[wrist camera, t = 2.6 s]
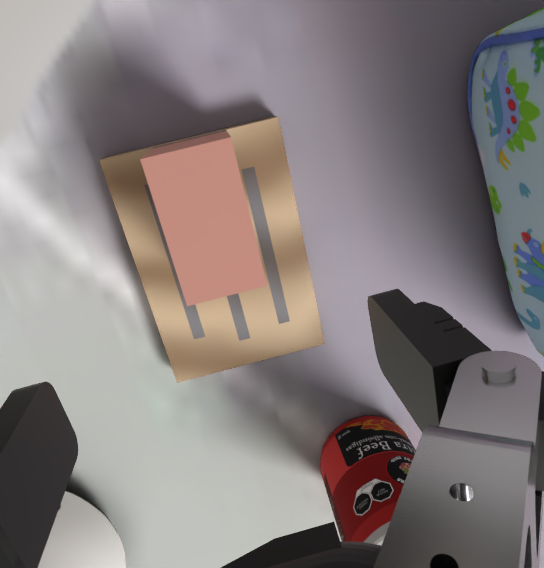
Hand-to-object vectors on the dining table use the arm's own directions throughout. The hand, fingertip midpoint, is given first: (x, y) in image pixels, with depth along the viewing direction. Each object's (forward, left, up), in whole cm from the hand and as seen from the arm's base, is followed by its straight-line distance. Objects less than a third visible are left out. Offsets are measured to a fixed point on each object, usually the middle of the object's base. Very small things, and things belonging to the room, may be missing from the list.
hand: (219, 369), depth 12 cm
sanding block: (0, 0, -20) cm, 20 cm away
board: (+4, 0, -21) cm, 22 cm away
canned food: (+24, +7, -22) cm, 33 cm away
